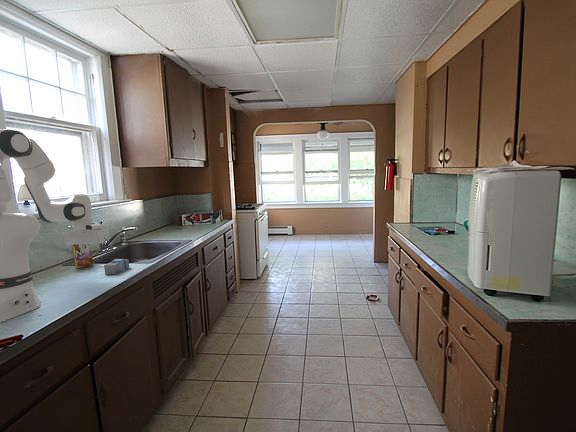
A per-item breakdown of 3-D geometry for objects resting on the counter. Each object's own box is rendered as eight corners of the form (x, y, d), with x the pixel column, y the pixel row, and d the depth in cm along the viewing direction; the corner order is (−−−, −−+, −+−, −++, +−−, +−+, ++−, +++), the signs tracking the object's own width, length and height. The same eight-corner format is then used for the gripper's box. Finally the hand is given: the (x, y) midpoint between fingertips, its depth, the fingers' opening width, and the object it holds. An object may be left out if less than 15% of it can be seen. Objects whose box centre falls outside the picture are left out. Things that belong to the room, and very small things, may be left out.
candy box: (75, 268, 184) (72, 243, 181) (75, 267, 187) (72, 241, 185) (93, 265, 188) (90, 240, 186) (93, 264, 192) (90, 239, 190)
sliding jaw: (115, 274, 170) (114, 265, 169) (105, 274, 170) (104, 265, 170) (122, 270, 175) (121, 262, 174) (112, 270, 176) (111, 262, 175)
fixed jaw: (126, 269, 179) (125, 260, 178) (116, 269, 179) (115, 260, 179) (129, 267, 182) (128, 259, 181) (119, 267, 182) (118, 259, 182)
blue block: (121, 271, 175) (120, 260, 174) (113, 271, 176) (111, 260, 175) (125, 269, 179) (124, 259, 178) (117, 269, 179) (115, 259, 179)
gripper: (59, 227, 161) (62, 254, 162) (96, 226, 158) (99, 253, 159) (70, 225, 167) (72, 251, 168) (105, 224, 164) (107, 251, 165)
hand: (85, 252), depth 164 cm, fingers closed
